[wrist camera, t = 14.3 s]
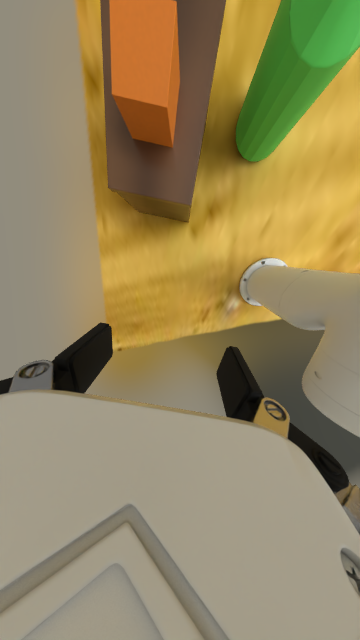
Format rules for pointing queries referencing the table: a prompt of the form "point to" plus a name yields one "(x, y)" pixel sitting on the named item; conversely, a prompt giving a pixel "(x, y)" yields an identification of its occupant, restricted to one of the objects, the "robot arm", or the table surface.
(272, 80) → the bottle
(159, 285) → the table surface
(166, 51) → the cube
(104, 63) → the shelf
